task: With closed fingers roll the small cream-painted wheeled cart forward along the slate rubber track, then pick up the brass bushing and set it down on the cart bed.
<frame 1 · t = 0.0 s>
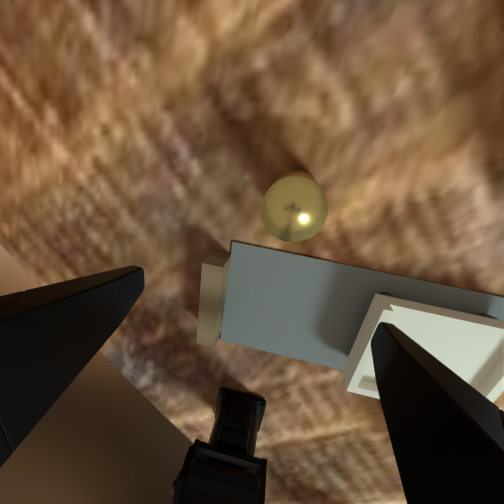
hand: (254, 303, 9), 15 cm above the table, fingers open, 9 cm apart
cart: (422, 353, 23), point 2 cm above the table, slide at 0.0 cm
end stop: (217, 292, 27), on the table
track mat: (358, 325, 26), on the table
brass bushing: (294, 195, 22), on the table
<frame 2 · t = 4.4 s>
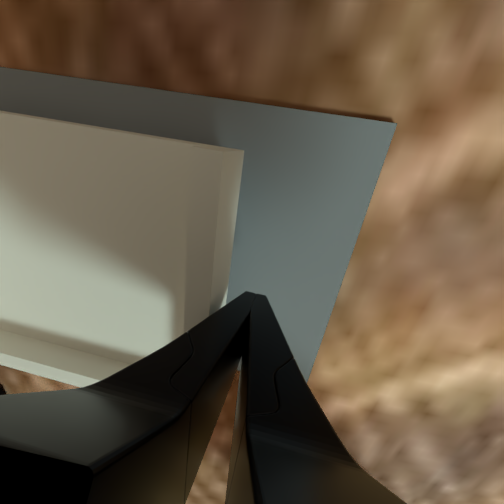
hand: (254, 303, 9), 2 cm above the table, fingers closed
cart: (83, 258, 10), point 2 cm above the table, slide at 1.7 cm, touching gripper
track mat: (48, 225, 12), on the table
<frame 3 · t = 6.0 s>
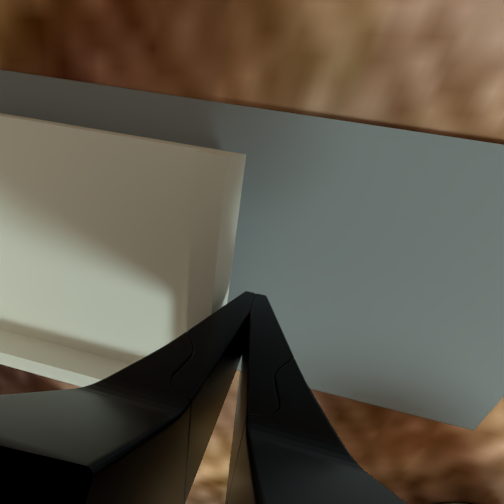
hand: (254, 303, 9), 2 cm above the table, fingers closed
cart: (86, 259, 10), point 2 cm above the table, slide at 10.5 cm, touching gripper
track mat: (218, 262, 12), on the table
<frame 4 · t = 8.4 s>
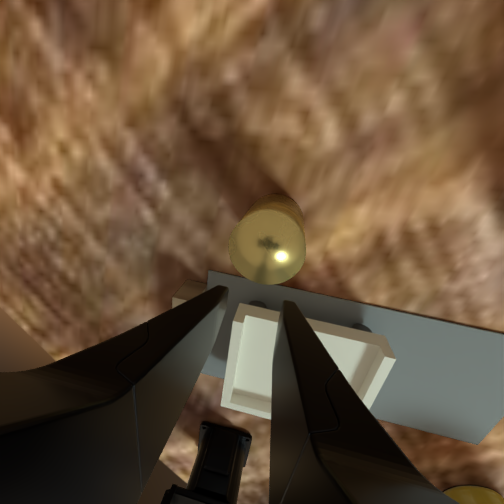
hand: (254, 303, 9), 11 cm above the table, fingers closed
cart: (297, 366, 22), point 2 cm above the table, slide at 10.6 cm
end stop: (194, 323, 25), on the table
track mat: (350, 361, 23), on the table
brass bushing: (275, 222, 19), on the table
plant pot: (469, 498, 28), on the table
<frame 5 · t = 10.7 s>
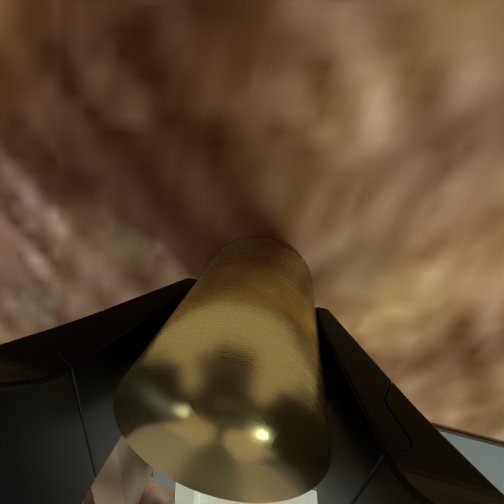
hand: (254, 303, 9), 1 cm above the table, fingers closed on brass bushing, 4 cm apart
end stop: (138, 422, 16), on the table
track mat: (384, 493, 14), on the table
brass bushing: (259, 285, 10), on the table, touching gripper
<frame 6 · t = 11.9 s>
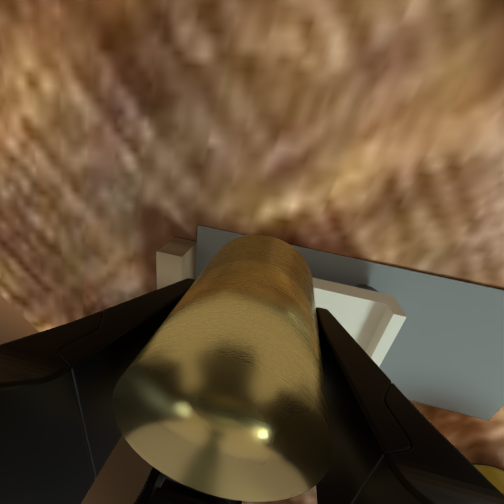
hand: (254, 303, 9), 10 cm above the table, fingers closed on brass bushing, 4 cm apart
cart: (294, 331, 20), point 2 cm above the table, slide at 10.6 cm
end stop: (184, 288, 23), on the table
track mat: (352, 328, 21), on the table
brass bushing: (259, 284, 10), point 9 cm above the table, touching gripper
plant pot: (475, 478, 27), on the table
when the fingers open (6 cm above the table, at t = 13.6 s): brass bushing drops 1 cm, resting on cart.
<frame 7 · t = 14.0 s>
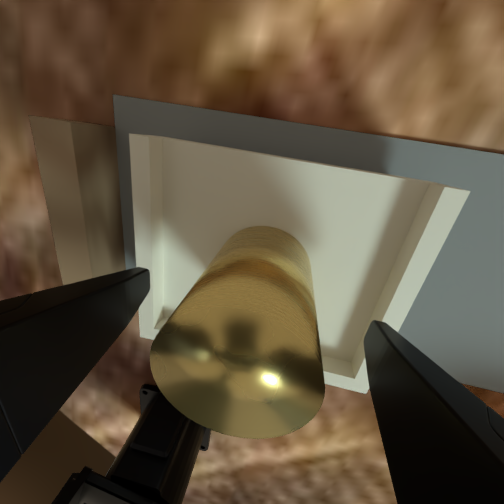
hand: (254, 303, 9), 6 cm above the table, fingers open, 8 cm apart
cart: (268, 263, 12), point 2 cm above the table, slide at 10.5 cm, touching brass bushing
end stop: (108, 213, 15), on the table
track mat: (360, 265, 14), on the table
brass bushing: (263, 270, 11), point 3 cm above the table, touching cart
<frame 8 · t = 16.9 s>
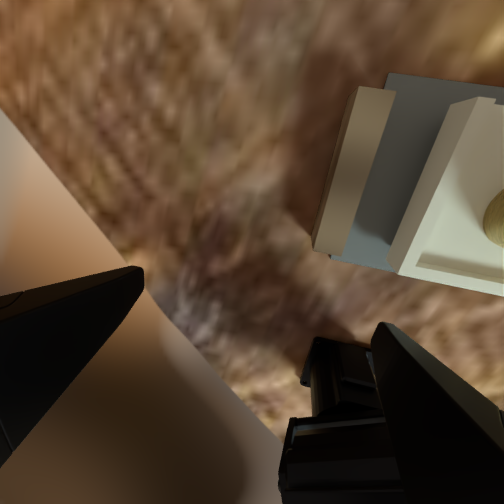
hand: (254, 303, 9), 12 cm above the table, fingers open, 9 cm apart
end stop: (341, 177, 18), on the table
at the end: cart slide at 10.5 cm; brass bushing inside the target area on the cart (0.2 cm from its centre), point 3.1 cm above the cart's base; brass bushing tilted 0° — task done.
